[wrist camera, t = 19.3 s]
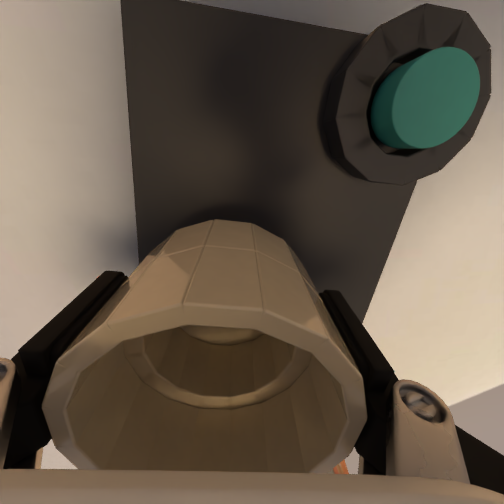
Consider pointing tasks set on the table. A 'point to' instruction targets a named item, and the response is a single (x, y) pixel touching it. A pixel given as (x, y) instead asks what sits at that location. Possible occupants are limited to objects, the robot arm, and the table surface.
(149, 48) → the scale
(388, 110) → the button
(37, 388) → the robot arm
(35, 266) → the table surface
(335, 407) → the little bowl
